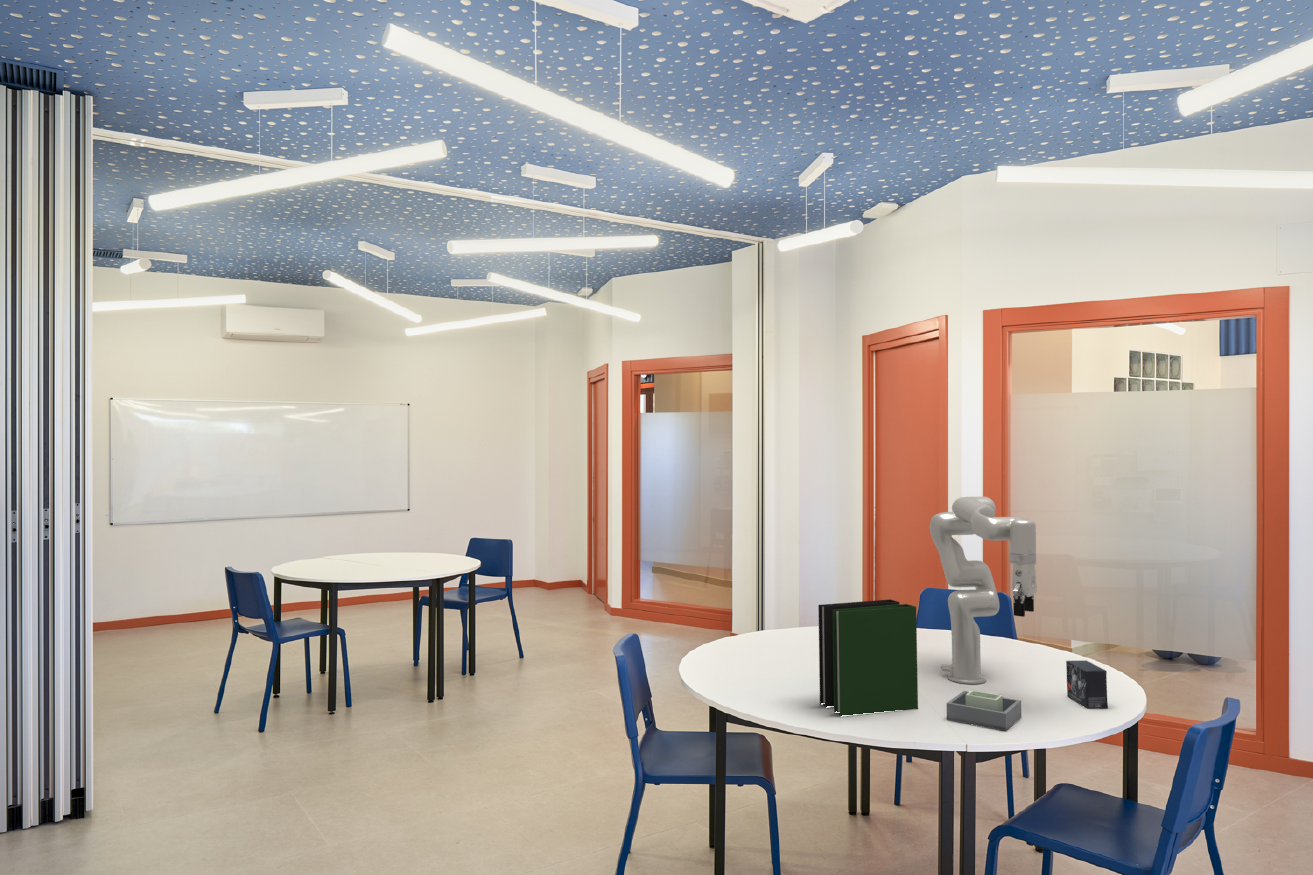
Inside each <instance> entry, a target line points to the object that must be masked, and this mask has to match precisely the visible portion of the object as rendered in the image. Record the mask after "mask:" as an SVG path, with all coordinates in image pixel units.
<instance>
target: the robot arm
mask: <svg viewBox="0 0 1313 875" xmlns="http://www.w3.org/2000/svg"><path fill="white" fill-rule="evenodd" d="M951 510H952V511H944V512H939V513H937V514H934V515H933V516H932V517H931V519H930V522H929V533H930V536H931V539H932V542H933V544H934V546H935V547H936V549H937V552H938V554H939V558H940V562H941V566H942V569H943V573H944V577H945V580H946V582H947V585H948V586H950V587H951V588H952V587H953V588H974V589H959V590H954V591H953V592H951V593H950V594H949V596H948V598H947V605H948V611H949V616H950V625H951V626H950V628H951V663H952V664H948V665H947V664H944V663H941V665H940V670H942V671H943V672H948V674H947V679H949V681H952V682H954V683H958V684H963V685H964V684H966V685H980V684H983V683H986V681H987V678H986V676H984V675H982V665H981V664H982V663H981V662H982V661H981V660H982V658H981V657H982V656H981V631H980V630H981V629H980V627H979V625H978V624H977V623H976V621H975V619H974V618H977V617H982V618H983V617H993V616H995V615H997V613H999V610H1000V599H999V596H998V591H997V588H996V584H995V581H994V578H993V574H992V572H991V569H990V567H989V566H988V565H987V564H986V562H984V561H981V560H968V559H967V558H966V556H965V552H964V548H963V546H962V545H961V544H960V543H959V541H958V540H956V539H955V538H954V537H952V536H969V535H970V536H973V535H976V536H978V537H979V538H982V539H984V540H985V541H986V540H987V541H1009V563H1010V564H1011V565H1012V574H1011V578H1012V579H1011V587H1012V588H1011V590H1012V594H1013V596H1012V597H1013V601H1012V602H1013V604H1012V605H1013V608H1012V610H1013V611H1012V612H1013V616H1014V617H1022V618H1024V617H1025V616H1026V612H1033V613H1034V612H1035V606H1034V605H1035V603H1034V602H1035V601H1034V600H1035V596H1034V595H1036V594H1037V592H1038V590H1037V588H1038V587H1037V575H1036V574H1037V573H1036V572H1037V571H1036V566H1035V565H1037V527H1036V526H1037V524H1036V522H1035V521H1034V520H1032V519H1023V518H1021V517H1019V516H996V512H997V507H996V504H995V502H994V501H993V500H992V499H991V498H990V497H988V496H962V497H959V498H956V500H954V501H953V503H952V506H951Z"/></svg>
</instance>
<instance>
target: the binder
mask: <svg viewBox="0 0 1313 875" xmlns="http://www.w3.org/2000/svg"><path fill="white" fill-rule="evenodd" d="M917 624H918V623H917V606H915V605H912V604H908V603H902V604H900V601H897V600H893V599H891V598H889V599H878V600H876V599H875V600H864V601H854V602H852V601H851V602H838V603H828V604H827V603H824V604H818V662H819V663H818V666H819V667H818V668H819V669H818V670H819V704H820V703H825V705H824V708H825V707H827V706H834V708H833V713H834V712H836V711H837V712H840V713H839V717H840V716H842V715H853V714H863V713H874V712H884V711H894V712H896V711H895V710H903V711H910V710H911V711H912V710H918V709H919V688H918V687H919V686H918V684H919V682H918V639H917V638H918V637H917V636H918V635H917V633H918V632H917V631H918V630H917V629H918V628H917Z"/></svg>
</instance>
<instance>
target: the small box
mask: <svg viewBox="0 0 1313 875" xmlns="http://www.w3.org/2000/svg"><path fill="white" fill-rule="evenodd" d="M1065 664H1066V690H1067V691H1066V693H1067V694H1066V695H1067V697H1068V698H1069V699H1071V700H1072V701H1074V702H1075V703H1077V704H1079V705H1080V704H1081V705H1080V706H1081V707H1083V706H1084V708H1085V709H1087V710H1089V709H1090V710H1091V709H1093V710H1094V709H1095V710H1096V709H1097V710H1098V709H1102V710H1103V709H1107V710H1108V709H1109V703H1108V687H1107V683H1108V682H1107V675H1108V674H1107V672H1108V671H1107V670H1105V669H1103V668H1102V667H1100V666H1098V665H1096V664H1094V663H1093V662H1090V661H1088V660H1087V659H1086V660H1084V659H1082V660H1066V661H1065Z"/></svg>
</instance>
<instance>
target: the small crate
mask: <svg viewBox="0 0 1313 875" xmlns="http://www.w3.org/2000/svg"><path fill="white" fill-rule="evenodd" d="M968 692H969V693H967V694H966V706H971V707H977V708H982V709H988V710H993V711H999V712H1003V700H1002V697H1003V695H1002V694H996V693H990V692H985V691H978V690H973V689H972V690H970V691H968Z"/></svg>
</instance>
